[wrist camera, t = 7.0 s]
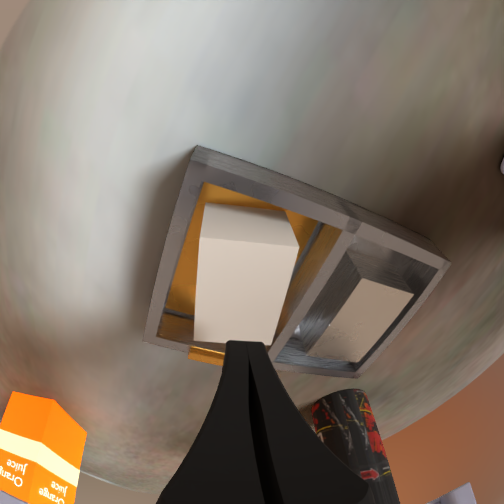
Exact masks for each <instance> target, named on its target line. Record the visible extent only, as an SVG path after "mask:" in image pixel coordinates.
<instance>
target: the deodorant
mask: <svg viewBox="0 0 504 504" xmlns="http://www.w3.org/2000/svg"><path fill="white" fill-rule="evenodd" d="M311 412H312V417H313V421H314V426H315V431H316V435H317V436H318V437H319V438H320V439H321V441H322V442H323V443H324V444H325V445H326V446H327V447H328V448H329V449H330V450H331V451H332V452H333V453H334V454H335V455H336V456H337V457H338V458H339V459H340V460H341V461H342V462H343V463H344V464H345V465H347V466H348V467H349V468H350V469H351V470H352V471H354V472H355V473H356V474H357V475H358V476H360V477H361V478H362V479H364V480H365V481H366V482H368V483H369V485H370V487H371V490H372V492H373V495H374V499H375V503H376V504H400V502H399V498H398V494H397V491H396V487H395V484H394V481H393V477H392V473H391V470H390V466H389V463H388V460H387V457H386V454H385V450H384V447H383V444H382V441H381V437H380V434H379V431H378V428H377V425H376V422H375V419H374V416H373V413H372V410H371V407H370V404H369V401H368V398H367V396H366V393H365V392H364V391H363V390H360V389H346V390H342V391H338V392H335V393H332V394H329V395H327V396H325V397H323V398H322V399H320V400H318V401H317V402H316V403H315V404H314V405H313V407H312V410H311Z"/></svg>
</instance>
